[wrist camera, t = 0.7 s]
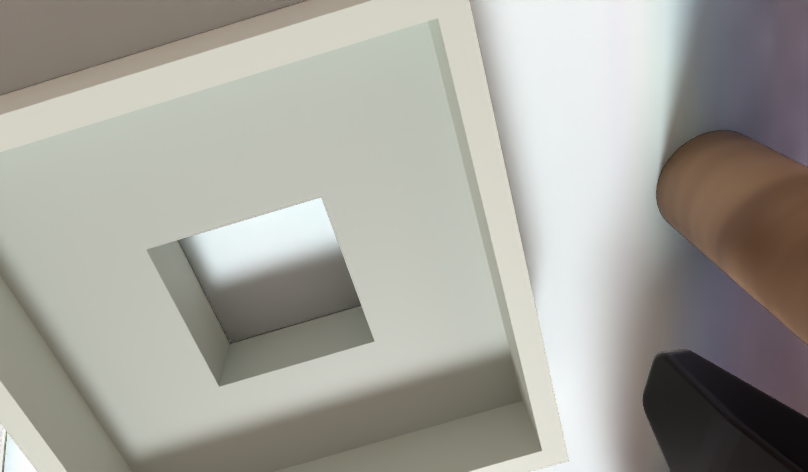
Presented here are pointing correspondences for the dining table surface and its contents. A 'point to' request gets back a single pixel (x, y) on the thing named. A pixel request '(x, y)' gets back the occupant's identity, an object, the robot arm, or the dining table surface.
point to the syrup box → (2, 447)
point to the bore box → (257, 195)
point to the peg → (744, 217)
